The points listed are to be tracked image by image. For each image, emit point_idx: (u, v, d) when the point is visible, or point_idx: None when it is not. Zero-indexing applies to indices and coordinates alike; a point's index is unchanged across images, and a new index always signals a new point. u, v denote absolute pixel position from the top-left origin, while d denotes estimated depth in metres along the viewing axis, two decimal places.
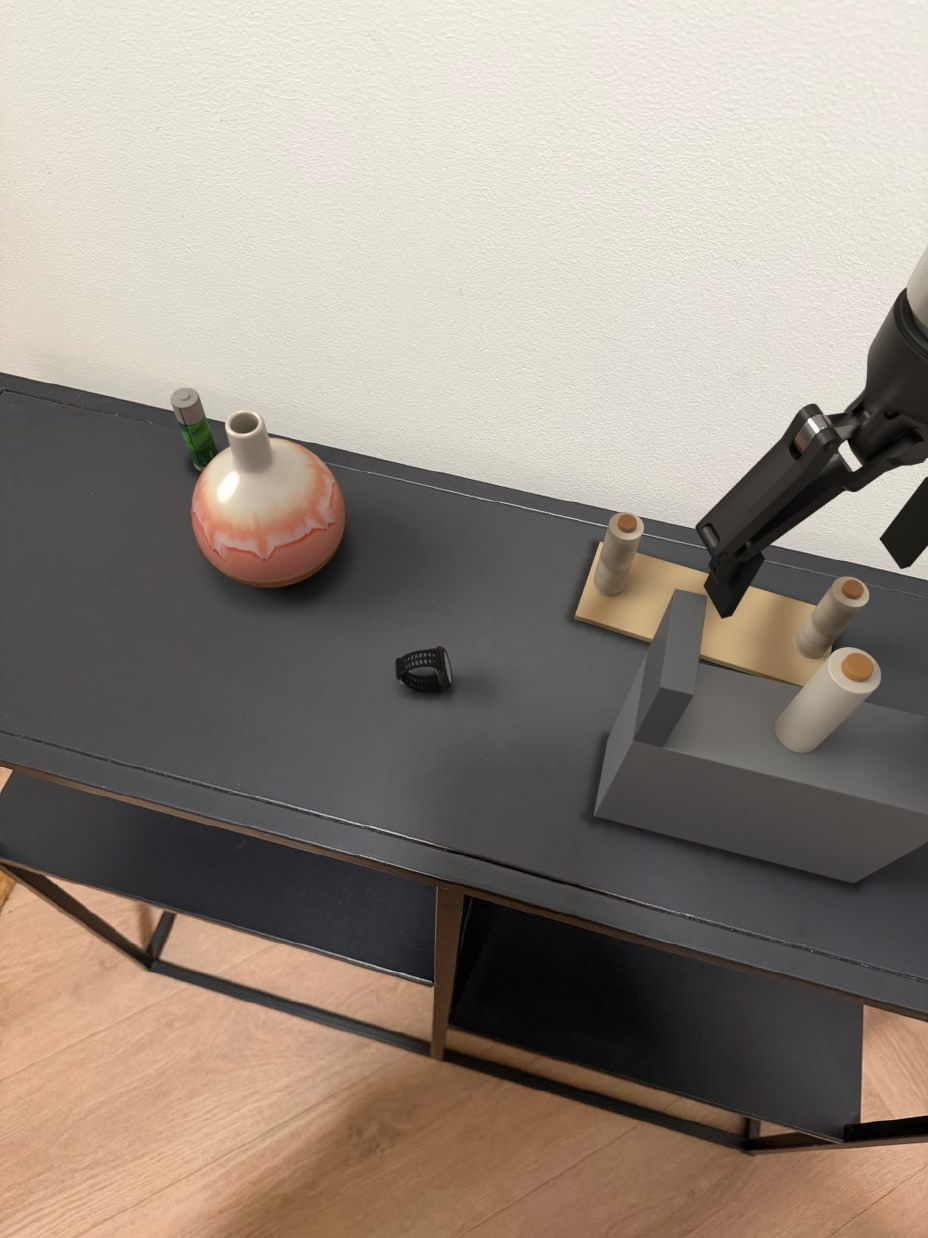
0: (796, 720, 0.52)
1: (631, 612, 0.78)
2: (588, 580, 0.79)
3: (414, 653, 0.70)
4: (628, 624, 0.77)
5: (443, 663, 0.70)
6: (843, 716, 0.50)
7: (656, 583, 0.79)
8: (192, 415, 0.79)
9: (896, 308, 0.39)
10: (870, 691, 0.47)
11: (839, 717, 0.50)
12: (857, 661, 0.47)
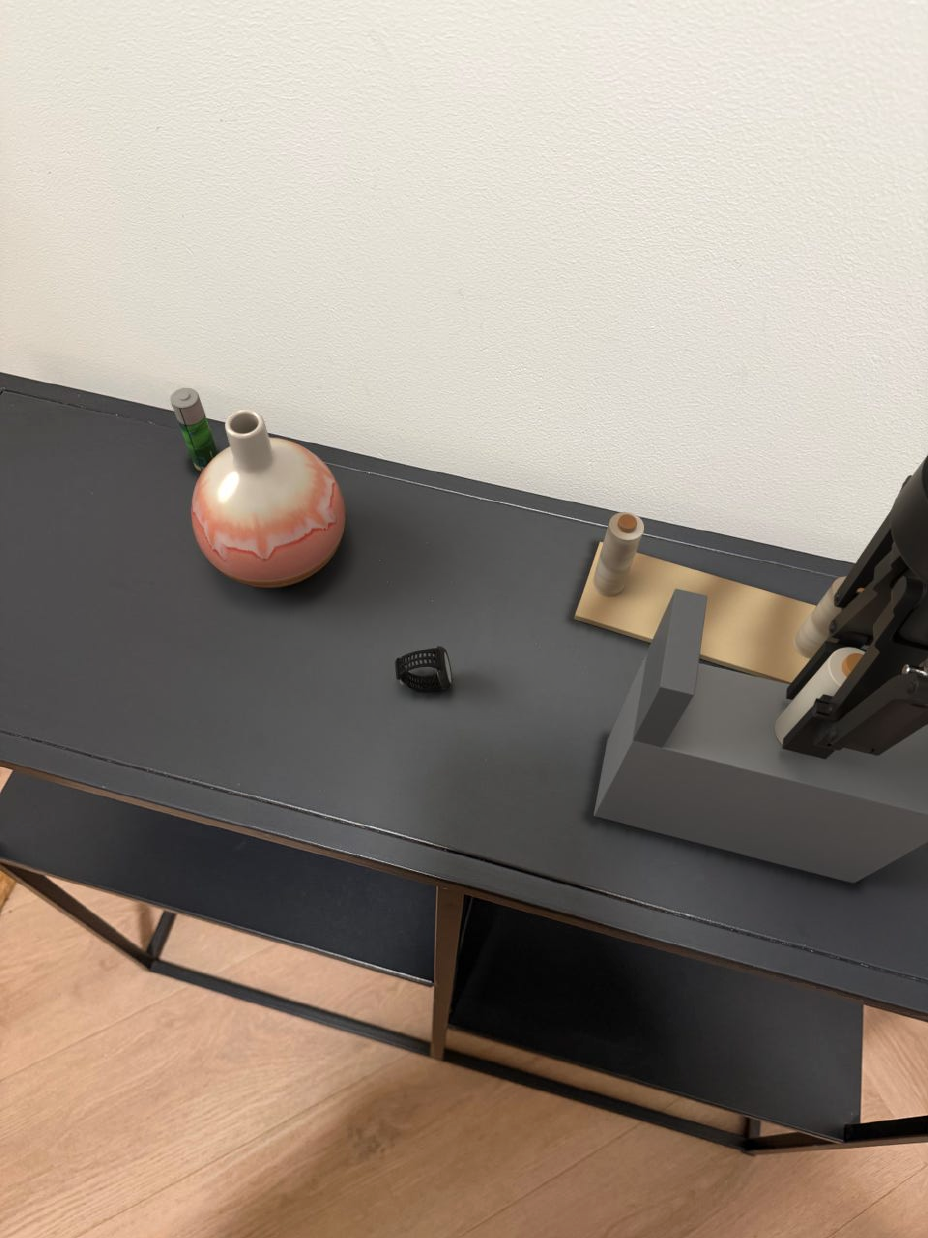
0: (796, 720, 0.52)
1: (631, 612, 0.78)
2: (588, 580, 0.79)
3: (414, 653, 0.70)
4: (628, 624, 0.77)
5: (443, 663, 0.70)
6: None
7: (656, 583, 0.79)
8: (192, 415, 0.79)
9: None
10: None
11: None
12: (857, 661, 0.47)
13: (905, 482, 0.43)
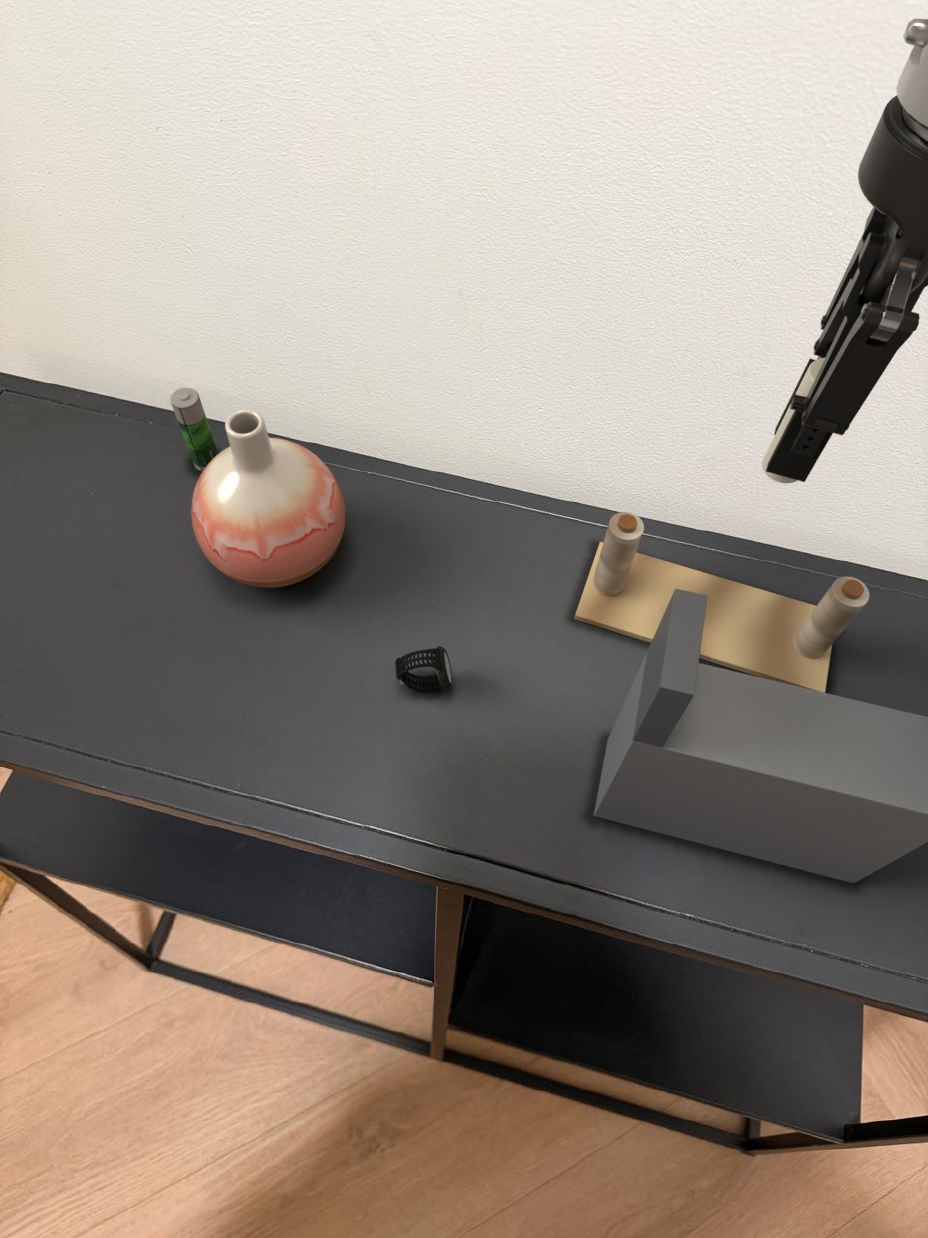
0: None
1: (631, 612, 0.78)
2: (588, 580, 0.79)
3: (414, 653, 0.70)
4: (628, 624, 0.77)
5: (443, 663, 0.70)
6: None
7: (656, 583, 0.79)
8: (192, 415, 0.79)
9: (912, 150, 0.39)
10: None
11: None
12: None
13: None
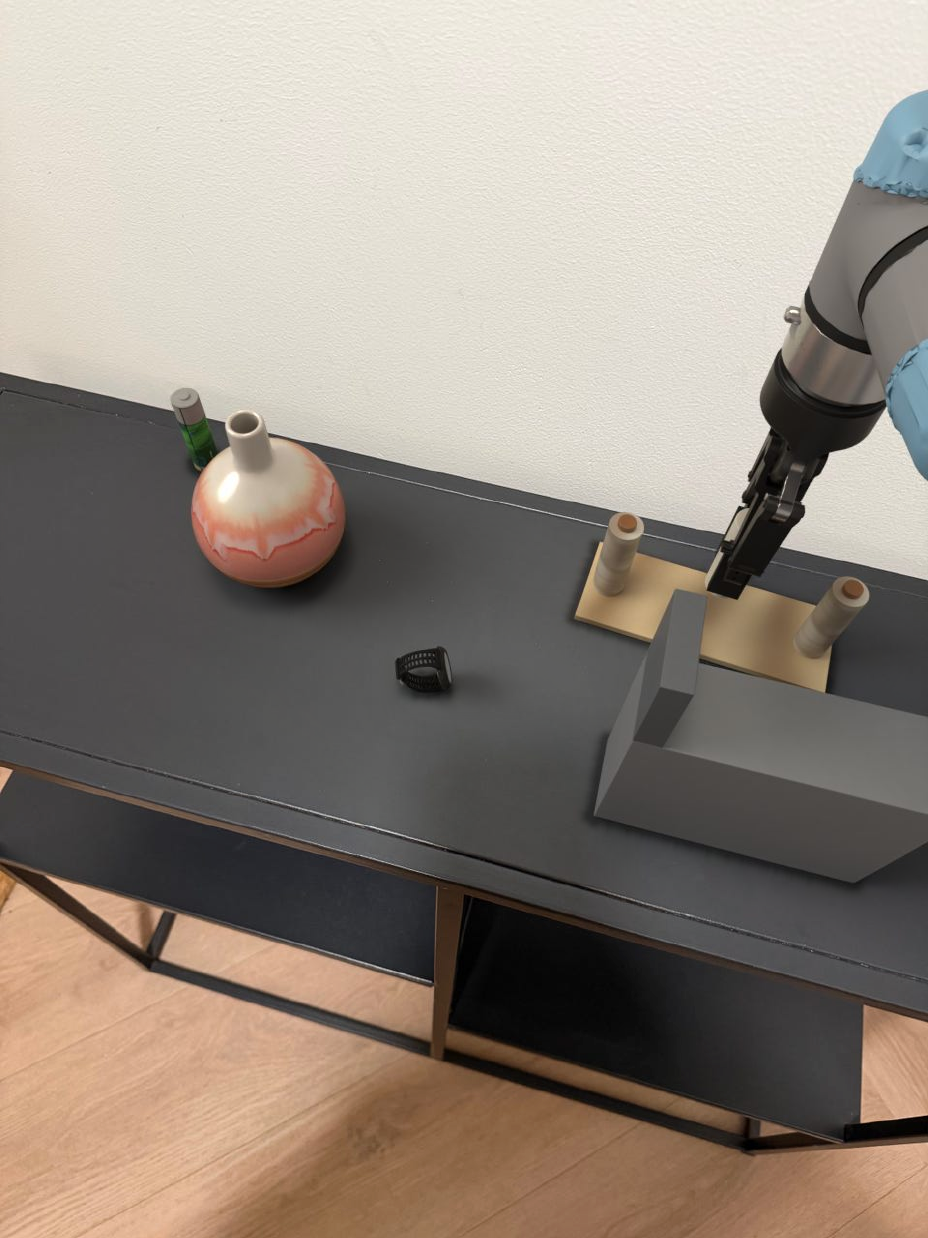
0: None
1: (631, 612, 0.78)
2: (588, 580, 0.79)
3: (414, 653, 0.70)
4: (628, 624, 0.77)
5: (443, 663, 0.70)
6: None
7: (656, 583, 0.79)
8: (192, 415, 0.79)
9: (793, 396, 0.52)
10: None
11: None
12: None
13: None
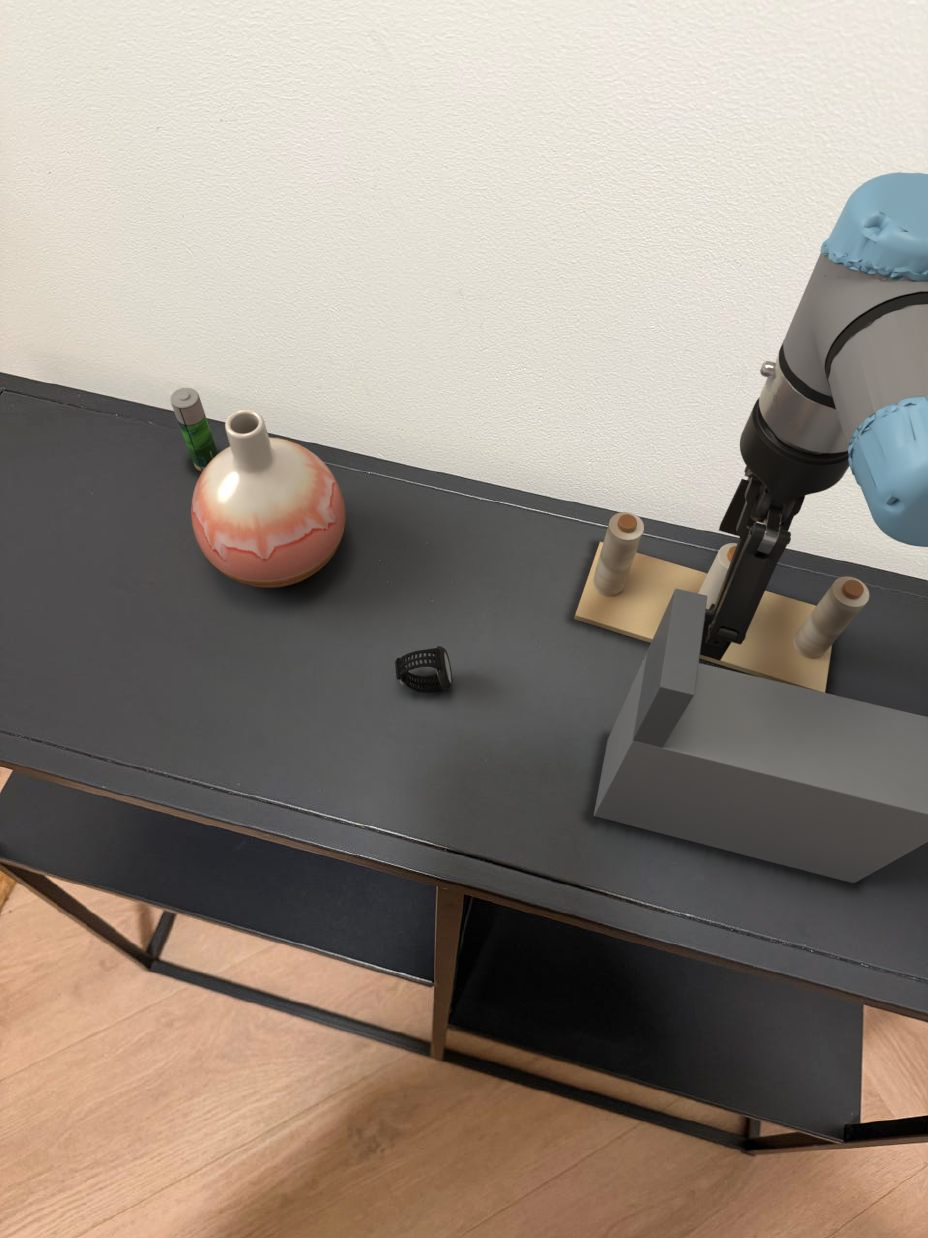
0: None
1: (631, 612, 0.78)
2: (588, 580, 0.79)
3: (414, 653, 0.70)
4: (628, 624, 0.77)
5: (443, 663, 0.70)
6: None
7: (656, 583, 0.79)
8: (192, 415, 0.79)
9: (769, 444, 0.55)
10: None
11: None
12: None
13: None
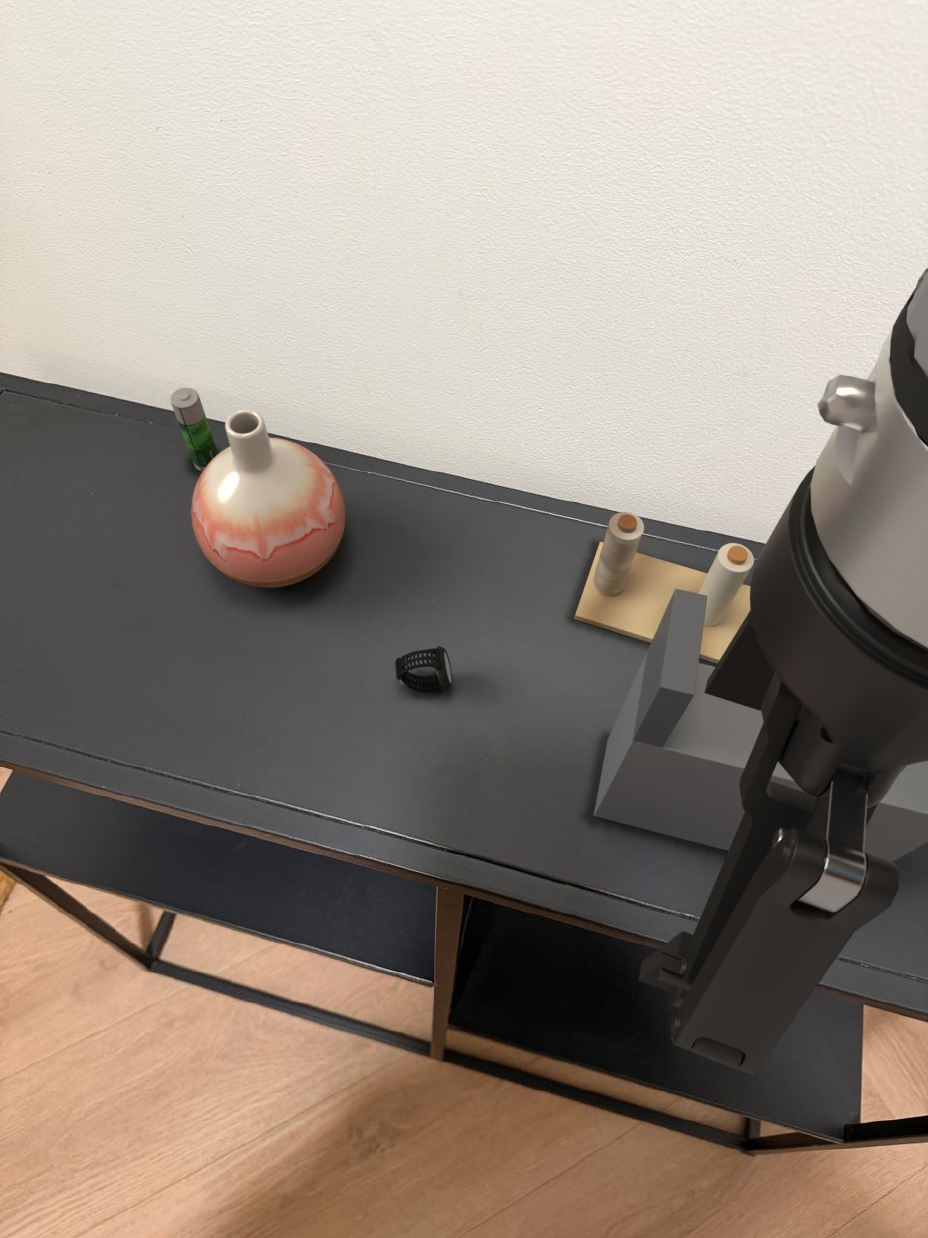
0: None
1: (631, 612, 0.78)
2: (588, 580, 0.79)
3: (414, 653, 0.70)
4: (628, 624, 0.77)
5: (443, 663, 0.70)
6: (730, 592, 0.72)
7: (656, 583, 0.79)
8: (192, 415, 0.79)
9: (843, 630, 0.18)
10: (744, 571, 0.70)
11: (727, 593, 0.72)
12: (737, 550, 0.70)
13: None
